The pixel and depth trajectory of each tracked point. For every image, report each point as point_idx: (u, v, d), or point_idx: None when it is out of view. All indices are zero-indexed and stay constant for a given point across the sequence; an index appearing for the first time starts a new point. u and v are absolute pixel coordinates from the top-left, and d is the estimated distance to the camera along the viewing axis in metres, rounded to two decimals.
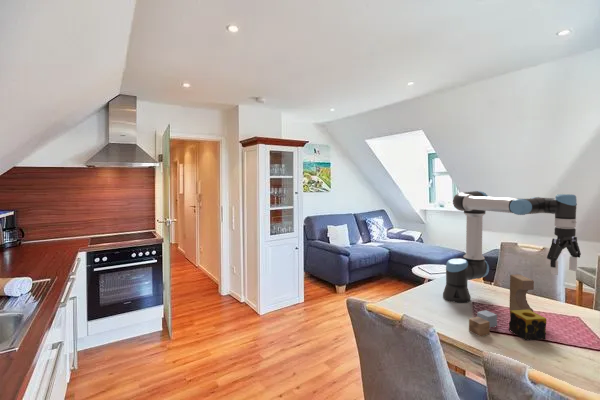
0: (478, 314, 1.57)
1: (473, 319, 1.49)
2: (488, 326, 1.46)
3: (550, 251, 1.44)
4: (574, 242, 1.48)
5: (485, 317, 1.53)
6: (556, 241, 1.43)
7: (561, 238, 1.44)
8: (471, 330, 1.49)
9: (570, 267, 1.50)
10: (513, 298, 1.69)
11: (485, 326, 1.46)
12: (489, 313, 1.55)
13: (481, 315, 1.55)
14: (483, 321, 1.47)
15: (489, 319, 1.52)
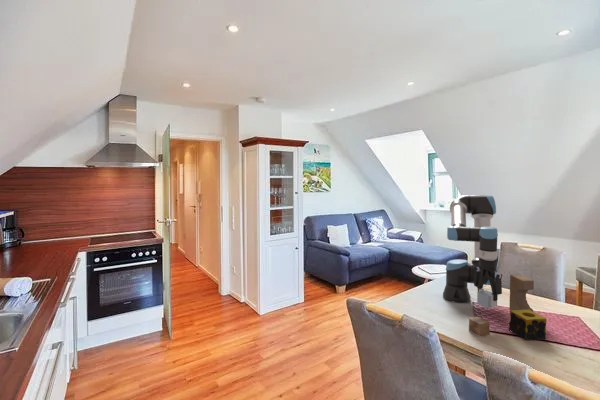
0: (478, 294, 1.56)
1: (473, 319, 1.49)
2: (488, 326, 1.46)
3: None
4: None
5: (485, 297, 1.53)
6: None
7: (479, 266, 1.57)
8: (471, 330, 1.49)
9: None
10: (513, 298, 1.69)
11: (486, 326, 1.46)
12: (489, 293, 1.55)
13: (481, 295, 1.55)
14: (484, 321, 1.47)
15: (489, 299, 1.52)
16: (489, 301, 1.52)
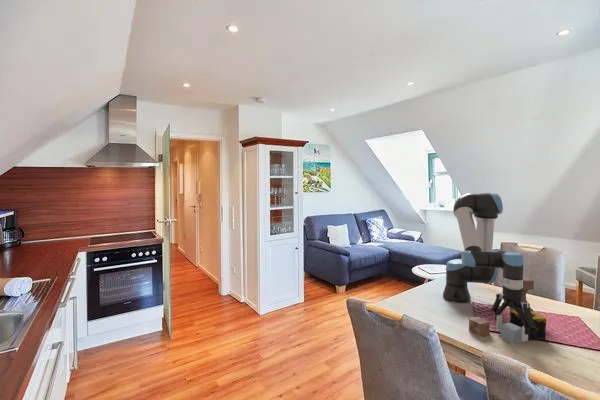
0: (501, 327, 1.43)
1: (473, 319, 1.49)
2: (488, 326, 1.46)
3: None
4: None
5: (510, 331, 1.39)
6: None
7: (503, 295, 1.44)
8: (471, 330, 1.49)
9: None
10: None
11: (485, 326, 1.46)
12: (514, 326, 1.41)
13: (505, 328, 1.41)
14: (483, 321, 1.47)
15: (514, 333, 1.38)
16: (514, 336, 1.38)
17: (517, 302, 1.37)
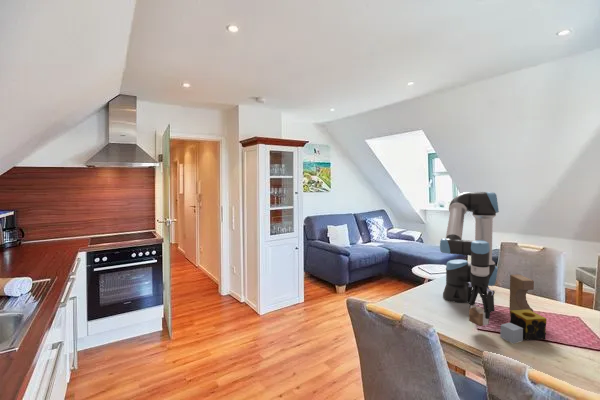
0: (501, 327, 1.43)
1: (473, 309, 1.49)
2: None
3: None
4: None
5: (510, 331, 1.39)
6: None
7: (471, 282, 1.51)
8: (471, 320, 1.49)
9: None
10: (513, 298, 1.69)
11: None
12: (514, 326, 1.41)
13: (505, 328, 1.41)
14: None
15: (514, 333, 1.38)
16: (514, 336, 1.38)
17: (483, 288, 1.44)
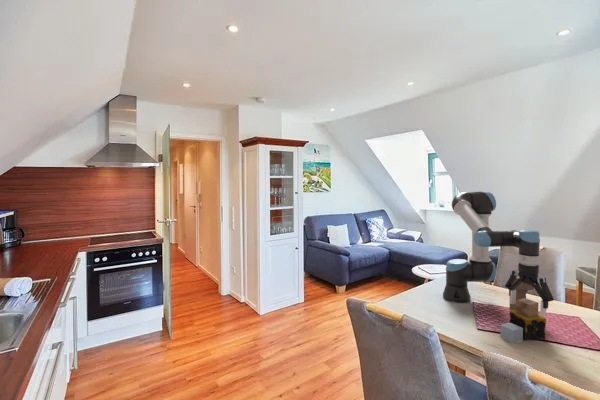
0: (501, 327, 1.43)
1: (521, 300, 1.45)
2: (537, 306, 1.42)
3: None
4: None
5: (510, 331, 1.39)
6: None
7: (519, 272, 1.47)
8: (519, 312, 1.45)
9: None
10: None
11: (535, 307, 1.42)
12: (514, 326, 1.41)
13: (505, 328, 1.41)
14: (532, 302, 1.43)
15: (514, 333, 1.38)
16: (514, 336, 1.38)
17: (533, 278, 1.40)
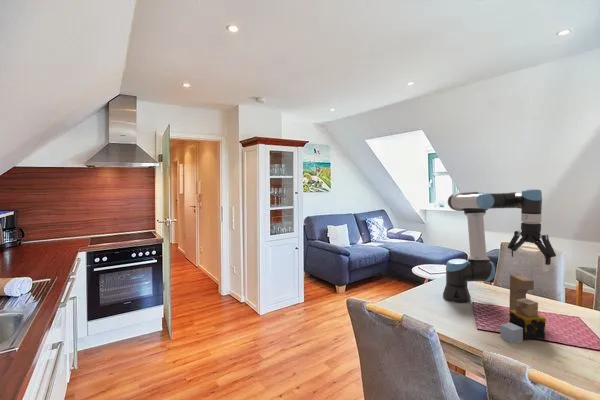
0: (501, 327, 1.43)
1: (520, 300, 1.45)
2: (536, 306, 1.43)
3: None
4: None
5: (510, 331, 1.39)
6: None
7: None
8: (518, 311, 1.45)
9: None
10: (513, 298, 1.69)
11: (534, 307, 1.42)
12: (514, 326, 1.41)
13: (505, 328, 1.41)
14: (532, 302, 1.43)
15: (514, 333, 1.38)
16: (514, 336, 1.38)
17: (536, 236, 1.42)
